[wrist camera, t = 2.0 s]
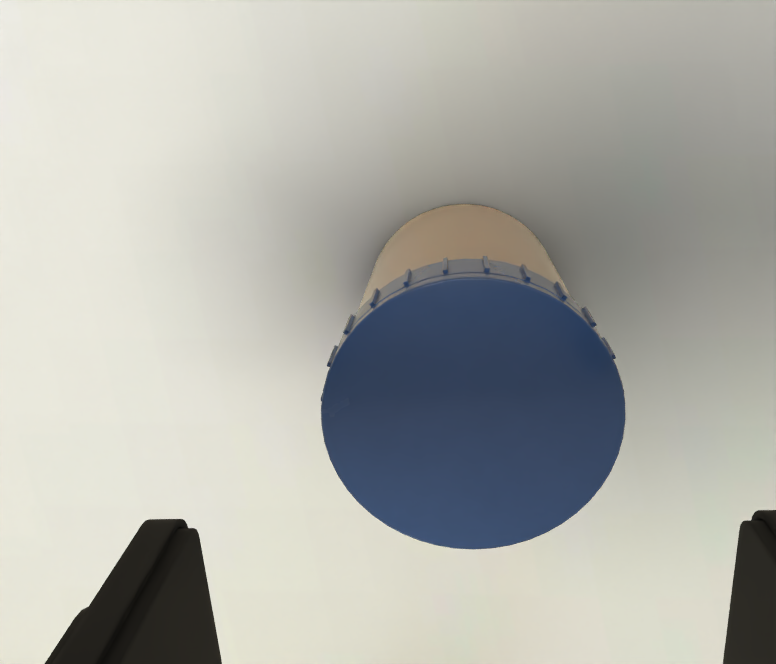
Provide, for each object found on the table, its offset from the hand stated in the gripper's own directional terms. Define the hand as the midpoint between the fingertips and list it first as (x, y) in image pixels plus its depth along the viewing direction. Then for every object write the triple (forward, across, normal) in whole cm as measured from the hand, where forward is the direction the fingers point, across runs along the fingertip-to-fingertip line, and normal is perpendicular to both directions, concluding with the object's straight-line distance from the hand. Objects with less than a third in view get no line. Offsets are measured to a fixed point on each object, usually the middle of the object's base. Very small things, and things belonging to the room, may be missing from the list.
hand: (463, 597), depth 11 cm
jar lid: (+6, 0, 0) cm, 6 cm away
